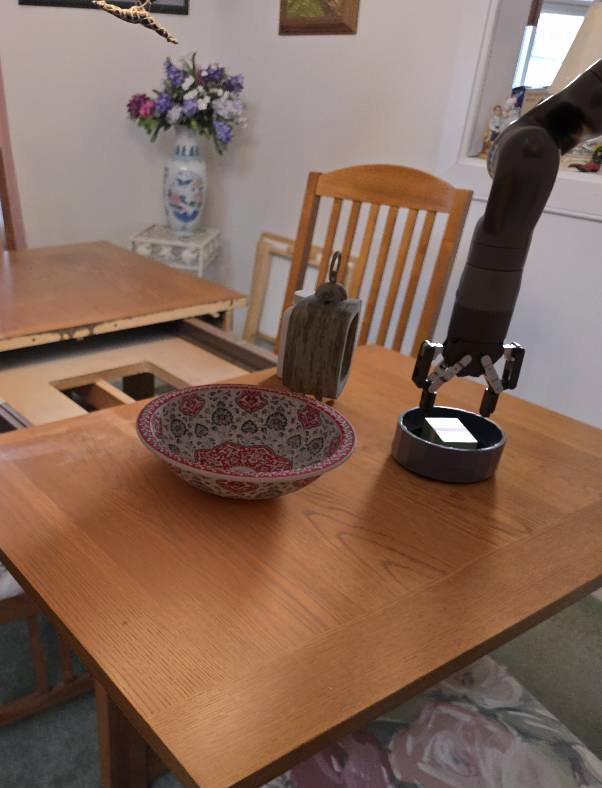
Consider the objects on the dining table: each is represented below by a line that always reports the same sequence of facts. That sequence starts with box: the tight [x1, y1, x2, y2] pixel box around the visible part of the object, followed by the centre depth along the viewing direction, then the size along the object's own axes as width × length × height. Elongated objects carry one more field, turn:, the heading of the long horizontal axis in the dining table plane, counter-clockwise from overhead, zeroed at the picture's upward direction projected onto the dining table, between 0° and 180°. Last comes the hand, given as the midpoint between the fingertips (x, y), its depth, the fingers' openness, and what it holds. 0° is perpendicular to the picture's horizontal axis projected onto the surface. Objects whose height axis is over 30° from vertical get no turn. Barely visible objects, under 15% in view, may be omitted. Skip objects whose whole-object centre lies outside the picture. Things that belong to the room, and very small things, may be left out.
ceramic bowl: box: [135, 383, 357, 500], centre depth 95 cm, size 29×29×8 cm
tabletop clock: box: [281, 250, 363, 403], centre depth 112 cm, size 14×9×25 cm, turn 160°
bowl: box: [390, 405, 508, 483], centre depth 104 cm, size 15×15×6 cm
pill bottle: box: [276, 289, 316, 379], centre depth 127 cm, size 8×8×15 cm
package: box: [420, 418, 478, 449], centre depth 103 cm, size 5×8×4 cm, turn 3°
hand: (455, 415), depth 101 cm, fingers open, 8 cm apart
